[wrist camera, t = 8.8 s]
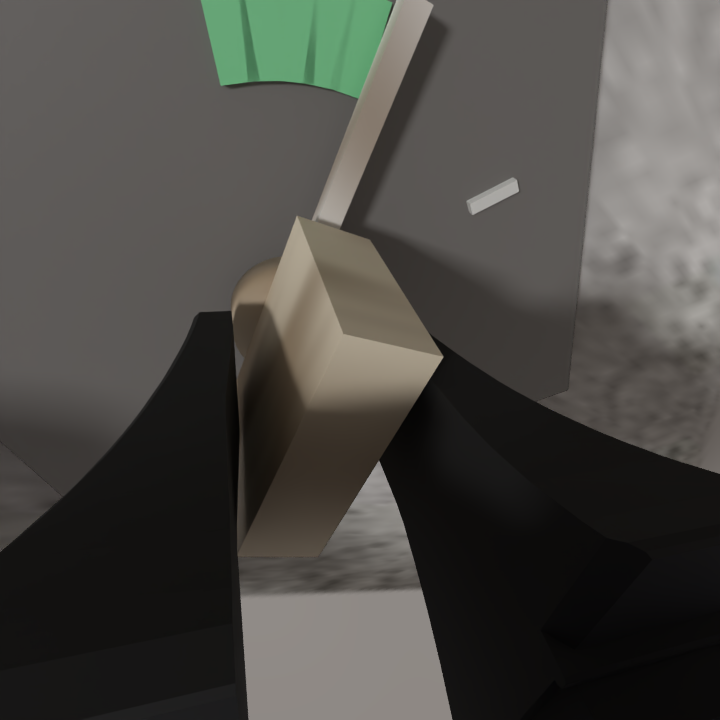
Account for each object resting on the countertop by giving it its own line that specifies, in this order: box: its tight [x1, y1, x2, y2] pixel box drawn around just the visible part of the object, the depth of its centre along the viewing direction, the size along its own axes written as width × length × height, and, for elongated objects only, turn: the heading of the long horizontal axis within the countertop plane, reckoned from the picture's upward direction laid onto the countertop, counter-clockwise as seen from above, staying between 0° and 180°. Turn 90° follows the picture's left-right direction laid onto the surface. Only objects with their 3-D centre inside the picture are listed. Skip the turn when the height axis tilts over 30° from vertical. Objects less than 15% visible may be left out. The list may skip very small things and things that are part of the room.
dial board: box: [0, 0, 607, 496], centre depth 12 cm, size 16×14×1 cm
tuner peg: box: [231, 0, 443, 557], centre depth 9 cm, size 9×3×5 cm, turn 155°
